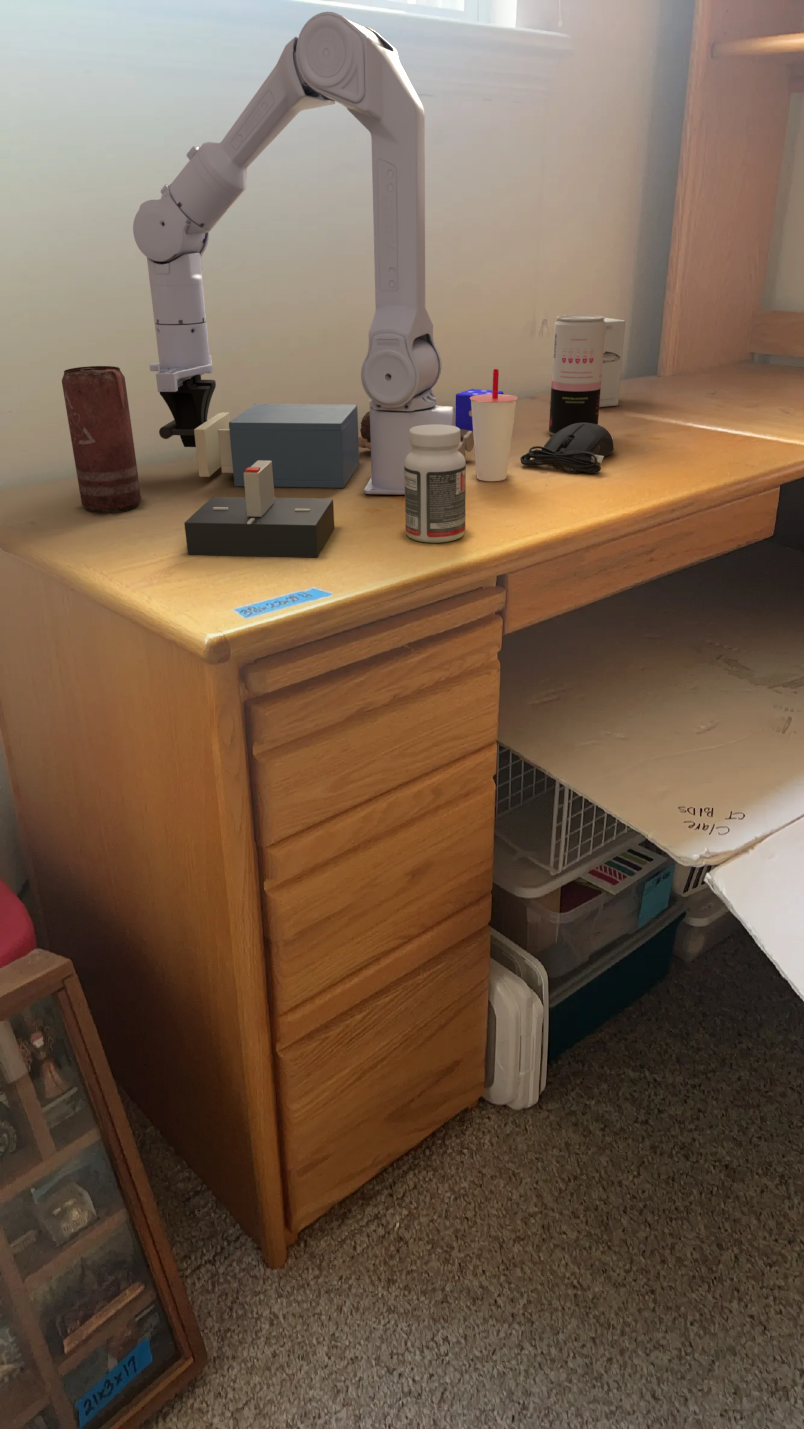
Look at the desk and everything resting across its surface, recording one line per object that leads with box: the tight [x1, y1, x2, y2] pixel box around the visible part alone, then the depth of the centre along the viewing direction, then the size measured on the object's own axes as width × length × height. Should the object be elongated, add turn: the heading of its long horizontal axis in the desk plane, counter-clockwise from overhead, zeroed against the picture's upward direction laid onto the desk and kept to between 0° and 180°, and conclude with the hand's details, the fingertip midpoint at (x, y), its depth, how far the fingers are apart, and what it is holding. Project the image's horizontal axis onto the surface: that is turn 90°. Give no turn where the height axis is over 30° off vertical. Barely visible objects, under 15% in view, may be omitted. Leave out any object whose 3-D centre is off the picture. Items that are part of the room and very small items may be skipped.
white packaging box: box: [599, 317, 626, 408], centre depth 152 cm, size 7×7×13 cm
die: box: [455, 388, 504, 431], centre depth 138 cm, size 5×5×5 cm
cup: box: [470, 368, 519, 482], centre depth 111 cm, size 5×5×12 cm
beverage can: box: [548, 314, 606, 436], centre depth 131 cm, size 7×6×15 cm
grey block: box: [244, 460, 275, 517], centre depth 91 cm, size 5×1×4 cm, turn 173°
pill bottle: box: [404, 424, 467, 544], centre depth 92 cm, size 6×6×10 cm
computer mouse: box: [519, 423, 615, 474], centre depth 121 cm, size 10×15×4 cm
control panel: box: [183, 496, 335, 558], centre depth 92 cm, size 12×9×3 cm
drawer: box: [158, 411, 240, 478], centre depth 115 cm, size 16×10×5 cm, turn 84°
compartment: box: [229, 403, 360, 489], centre depth 114 cm, size 13×12×7 cm
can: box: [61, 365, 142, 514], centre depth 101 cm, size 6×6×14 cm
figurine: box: [358, 410, 474, 459], centre depth 125 cm, size 8×5×15 cm
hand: (194, 445), depth 116 cm, fingers closed, pressing on drawer
